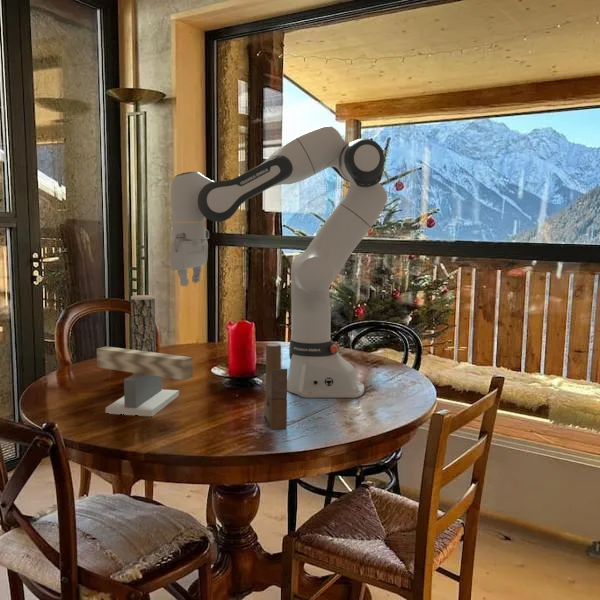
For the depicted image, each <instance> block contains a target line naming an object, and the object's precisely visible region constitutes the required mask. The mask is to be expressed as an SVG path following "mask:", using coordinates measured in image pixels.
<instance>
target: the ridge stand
mask: <svg viewBox="0 0 600 600" xmlns="http://www.w3.org/2000/svg"><path fill="white" fill-rule="evenodd" d="M179 392H180V390H178V389H177V390H176V389H163V388H162V377H159V376H152V375H146V374H139V373H135V374H133V373H132V375H130V376H128V377H126V378H124V379H123V394H124V395H123V396H122V397H120V398H118V399H117V400H115V401H114V402H112V403H110V404H109V405H108V406H106V407H105V414H106V413H109V414H108V415H110V414H111V415H120V414H122V416H135V415H138V416H140V417H151V416H152V417H154V416H155V415H156V414H157V413H159V412H160V411H161V410H163V409H164V408H165V407H167V406H168V405H169V404H170V403H172V402H173V401H174V400H175V399H176V398H178V397H179V396H180V393H179ZM123 414H124V415H123ZM138 416H137V417H138Z"/></svg>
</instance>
